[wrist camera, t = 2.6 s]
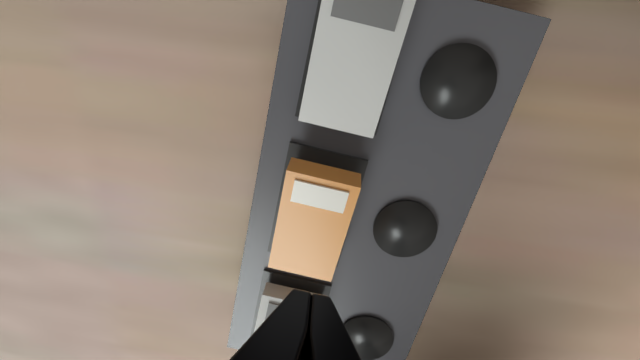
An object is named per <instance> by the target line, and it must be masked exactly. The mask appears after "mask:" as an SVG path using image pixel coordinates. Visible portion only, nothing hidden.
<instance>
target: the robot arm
mask: <svg viewBox="0 0 640 360" xmlns="http://www.w3.org/2000/svg"><path fill="white" fill-rule="evenodd" d="M230 360H361V358H360V356H359V354H358V352H357V350H356V348H355V346H354V344H353V342H352V340H351V338H350V336H349V334H348V332H347V330H346V327H345V325H344V323H343V321H342V319H341V317H340V315H339V313H338V311H337V309H336V307H335V305H334V303H333V301H332V299H331V298H330V297H329V296H326V295H321V294H317V293H313V294H312V295H311V293H310V292H308V291H304V290H300V289H293V290H292V291H291V292H290V293H289V294H288V295H287V296H286V297H285V299H284V300H283V301H282V302H281V303H280V304H279V305H278V306H277V307H276V309H275V310H274V311H273V312H272V313H271V314H270V315H269V316H268V317H267V319H266V320H265V321H264V322H263V323H262V324H261V325H260V326H259V327H258V329H257V330H256V331H255V332H254V333H253V334H252V335H251V336H250V337H249V339H248V340H247V341H246V342H245V343H244V344H243V345H242V346H241V347H240V349H239V350H238V351H237V352H236V353H235V354H234V355H233V356H232V357H231V359H230Z"/></svg>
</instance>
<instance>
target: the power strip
mask: <svg viewBox="0 0 640 360" xmlns="http://www.w3.org/2000/svg"><path fill="white" fill-rule="evenodd" d="M321 1H322V0H287V6H286V12H285V17H284V23H283V29H282V35H281V40H280V46H279V52H278V58H277V63H276V69H275V75H274V81H273V86H272V92H271V98H270V104H269V109H268V115H267V121H266V127H265V132H264V138H263V144H262V150H261V155H260V161H259V167H258V173H257V178H256V184H255V190H254V196H253V201H252V207H251V213H250V219H249V224H248V230H247V236H246V242H245V247H244V253H243V259H242V265H241V270H240V276H239V282H238V288H237V293H236V299H235V305H234V311H233V316H232V322H231V328H230V334H229V339H228V345H227V347H230V348H234V349H238V350H239V349H240V347H241V346H242V345H243V344H244V343H245V342H246V341H247V340H248V339H249V337H250V336H251V335H252V334H253V333H254V329H255V325H256V320H257V315H258V311H259V306H260V302H261V297H262V294H263V291H264V288H265V285H266V282H269V283H273V284H277V285H282V286H286V287H290V288H295V289H300V290H304V291H308V292H312V293H317V294H321V295H326V296H329V297H330V298H331V299H332V301H333V303H334V305H335V307H336V309H337V311H338V313H339V315H340V317H341V319H342V321H343V323H344V325H345V327H346V330H347V332H348V334H349V336H350V338H351V340H352V342H353V344H354V346H355V348H356V350H357V352H358V354H359V356H360V358H361V360H406V358H407V356H408V353H409V351H410V349H411V346H412V344H413V341H414V339H415V337H416V334H417V332H418V330H419V327H420V325H421V323H422V320H423V318H424V316H425V313H426V311H427V309H428V306H429V304H430V302H431V299H432V297H433V295H434V292H435V290H436V288H437V285H438V283H439V281H440V278H441V276H442V274H443V271H444V269H445V267H446V264H447V262H448V260H449V257H450V255H451V253H452V250H453V248H454V246H455V243H456V241H457V239H458V236H459V234H460V232H461V229H462V227H463V225H464V222H465V220H466V218H467V215H468V213H469V211H470V208H471V206H472V203H473V201H474V199H475V196H476V194H477V192H478V189H479V187H480V185H481V182H482V180H483V178H484V175H485V173H486V171H487V168H488V166H489V164H490V161H491V159H492V157H493V154H494V152H495V150H496V147H497V145H498V143H499V140H500V138H501V136H502V133H503V131H504V129H505V126H506V124H507V122H508V119H509V117H510V115H511V112H512V110H513V108H514V105H515V103H516V101H517V98H518V96H519V94H520V91H521V89H522V87H523V84H524V82H525V80H526V77H527V75H528V73H529V70H530V68H531V65H532V63H533V61H534V58H535V56H536V54H537V51H538V49H539V47H540V44H541V42H542V40H543V37H544V35H545V33H546V30H547V28H548V26H549V23H550V21H551V19H549V18H545V17H541V16H537V15H533V14H529V13H525V12H521V11H517V10H513V9H509V8H505V7H501V6H497V5H493V4H489V3H485V2H481V1H477V0H416V3H415V6H414V9H413V12H412V15H411V19H410V22H409V25H408V28H407V31H406V34H405V38H404V41H403V44H402V47H401V50H400V54H399V57H398V60H397V63H396V66H395V70H394V73H393V76H392V79H391V82H390V86H389V89H388V92H387V95H386V98H385V102H384V105H383V108H382V111H381V114H380V118H379V121H378V124H377V127H376V130H375V134H374V137H373V138H369V137H364V136H360V135H356V134H352V133H348V132H344V131H339V130H335V129H331V128H327V127H323V126H319V125H315V124H310V123H306V122H302V121H298V119H299V114H300V108H301V103H302V98H303V93H304V88H305V83H306V78H307V72H308V67H309V62H310V57H311V52H312V47H313V42H314V37H315V31H316V26H317V21H318V16H319V11H320V6H321ZM291 157H293V158H297V159H302V160H306V161H310V162H314V163H318V164H322V165H327V166H331V167H335V168H339V169H343V170H348V171H352V172H356V173H360V174H361V190H360V193H359V196H358V199H357V203H356V206H355V209H354V212H353V215H352V218H351V221H350V225H349V228H348V231H347V234H346V237H345V240H344V243H343V246H342V250H341V253H340V256H339V259H338V262H337V265H336V268H335V272H334V275H333V278H332V281H331V282H329V281H324V280H320V279H316V278H312V277H307V276H303V275H299V274H294V273H290V272H286V271H281V270H277V269H273V268H269V267H268V263H269V258H270V253H271V248H272V242H273V237H274V232H275V227H276V222H277V216H278V211H279V206H280V201H281V195H282V190H283V185H284V180H285V175H286V170H287V167H288V165H289V162H290V160H291Z"/></svg>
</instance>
